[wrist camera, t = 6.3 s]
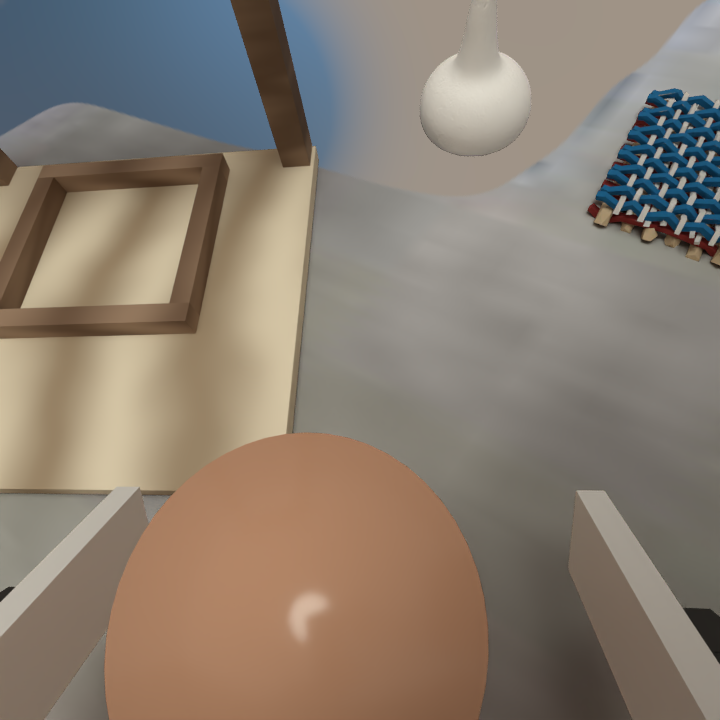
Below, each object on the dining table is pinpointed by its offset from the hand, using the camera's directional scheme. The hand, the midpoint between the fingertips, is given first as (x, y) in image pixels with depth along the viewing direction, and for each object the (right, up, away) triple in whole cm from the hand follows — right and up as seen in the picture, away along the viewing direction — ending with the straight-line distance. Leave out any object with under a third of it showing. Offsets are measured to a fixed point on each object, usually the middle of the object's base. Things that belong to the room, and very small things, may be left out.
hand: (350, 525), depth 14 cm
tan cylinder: (+1, -4, +4) cm, 6 cm away
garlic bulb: (+7, +19, +15) cm, 25 cm away
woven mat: (+19, +14, +11) cm, 26 cm away
